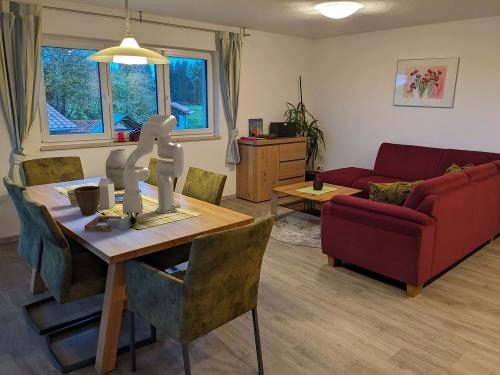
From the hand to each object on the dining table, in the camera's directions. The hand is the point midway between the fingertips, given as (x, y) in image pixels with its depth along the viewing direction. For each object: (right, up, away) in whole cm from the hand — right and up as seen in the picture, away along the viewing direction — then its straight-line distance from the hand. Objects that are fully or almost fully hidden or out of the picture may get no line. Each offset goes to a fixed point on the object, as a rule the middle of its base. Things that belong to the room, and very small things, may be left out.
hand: (133, 224), depth 218 cm
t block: (-8, -1, +1) cm, 8 cm away
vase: (-37, +20, +91) cm, 100 cm away
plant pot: (-34, +4, +23) cm, 41 cm away
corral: (-17, -1, +1) cm, 17 cm away
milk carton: (-28, +7, +38) cm, 48 cm away
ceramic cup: (-48, +8, +42) cm, 64 cm away
